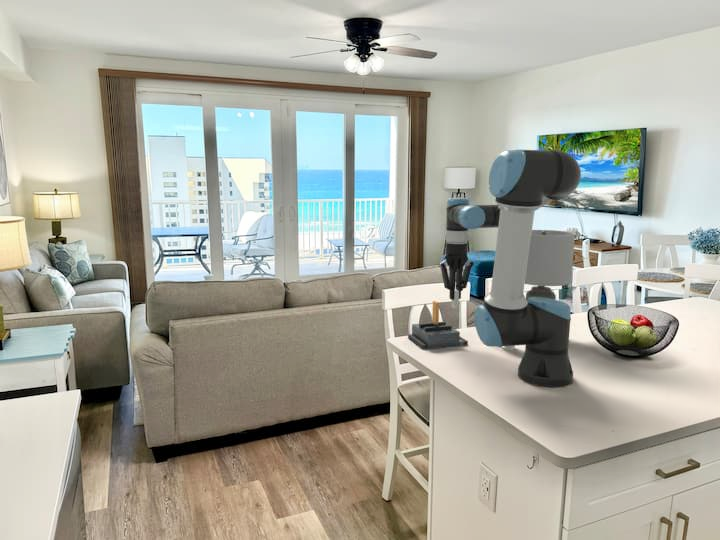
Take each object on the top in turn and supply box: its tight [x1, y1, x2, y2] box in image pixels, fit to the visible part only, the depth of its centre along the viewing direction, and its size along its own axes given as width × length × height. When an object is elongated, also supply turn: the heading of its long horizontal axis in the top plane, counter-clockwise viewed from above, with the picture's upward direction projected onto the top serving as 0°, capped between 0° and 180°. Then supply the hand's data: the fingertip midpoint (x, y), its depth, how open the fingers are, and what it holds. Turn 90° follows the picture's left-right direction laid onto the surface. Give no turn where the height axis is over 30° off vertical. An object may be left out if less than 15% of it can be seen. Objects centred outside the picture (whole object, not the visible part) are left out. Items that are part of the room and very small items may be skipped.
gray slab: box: [458, 336, 469, 347], centre depth 188 cm, size 14×3×1 cm, turn 17°
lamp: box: [524, 229, 576, 300], centre depth 190 cm, size 20×20×39 cm
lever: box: [431, 300, 440, 326], centre depth 184 cm, size 3×1×9 cm, turn 16°
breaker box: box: [411, 321, 461, 350], centre depth 186 cm, size 14×12×6 cm
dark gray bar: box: [407, 333, 427, 350], centre depth 184 cm, size 13×1×1 cm, turn 17°
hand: (454, 308), depth 186 cm, fingers closed
